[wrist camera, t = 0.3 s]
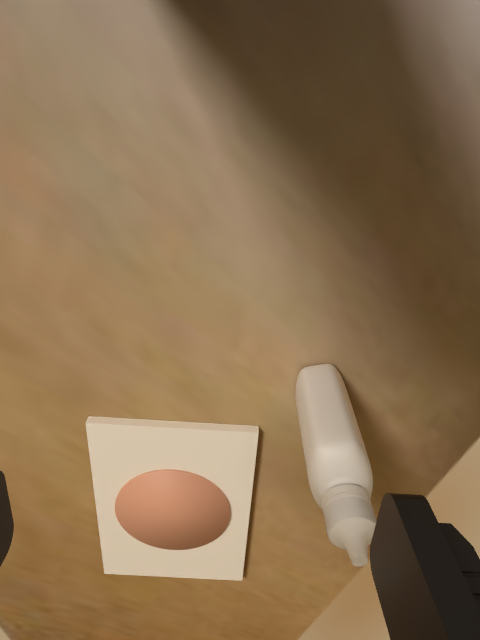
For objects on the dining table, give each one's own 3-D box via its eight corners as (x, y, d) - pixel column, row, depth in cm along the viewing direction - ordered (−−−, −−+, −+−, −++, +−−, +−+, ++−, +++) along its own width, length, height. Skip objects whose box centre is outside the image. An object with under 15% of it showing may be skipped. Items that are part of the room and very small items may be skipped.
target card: (88, 416, 32) (84, 424, 31) (258, 425, 32) (258, 434, 31) (106, 565, 40) (103, 575, 39) (242, 572, 40) (242, 582, 39)
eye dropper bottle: (367, 371, 30) (435, 533, 19) (333, 432, 32) (376, 605, 22) (306, 353, 29) (340, 510, 19) (276, 418, 32) (291, 587, 21)
